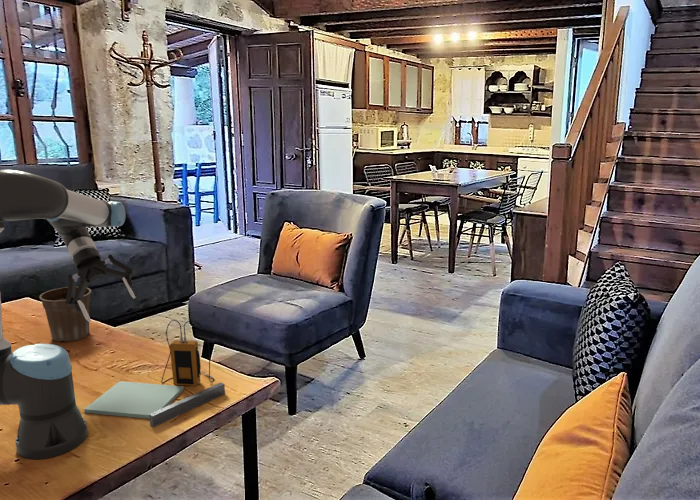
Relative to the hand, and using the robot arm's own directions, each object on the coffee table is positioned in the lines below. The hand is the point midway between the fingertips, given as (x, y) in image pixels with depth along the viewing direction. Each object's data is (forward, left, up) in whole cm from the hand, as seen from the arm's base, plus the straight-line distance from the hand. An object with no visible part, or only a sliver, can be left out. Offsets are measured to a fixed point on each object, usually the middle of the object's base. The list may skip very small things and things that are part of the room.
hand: (111, 307), depth 159 cm
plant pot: (+27, +36, -22) cm, 50 cm away
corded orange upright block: (+3, -22, -22) cm, 31 cm away
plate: (-12, -13, -22) cm, 28 cm away
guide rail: (-14, -30, -22) cm, 39 cm away
